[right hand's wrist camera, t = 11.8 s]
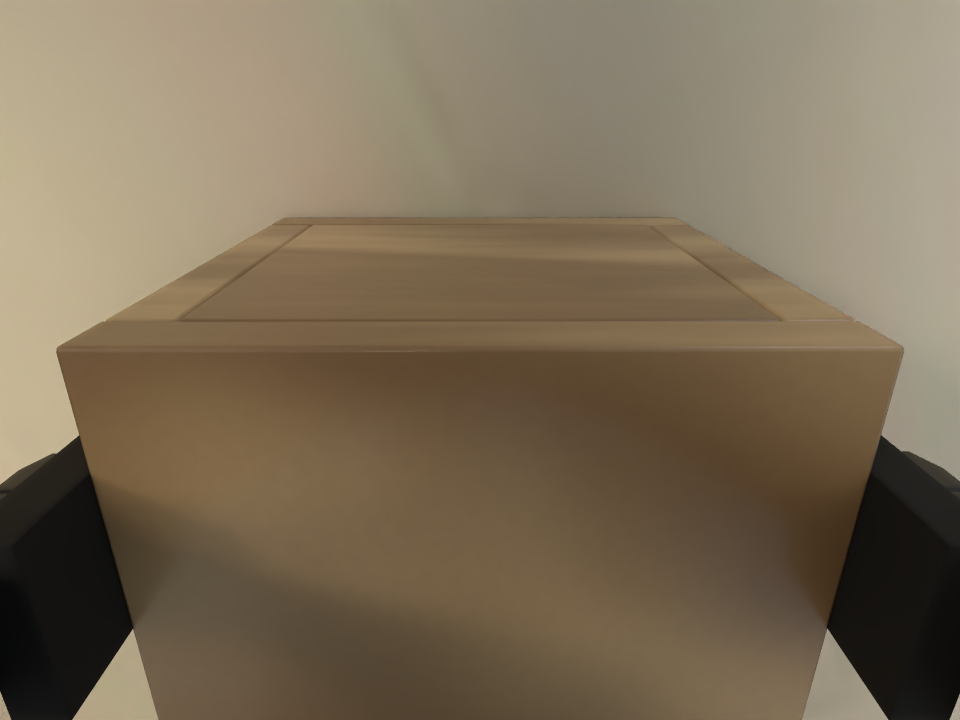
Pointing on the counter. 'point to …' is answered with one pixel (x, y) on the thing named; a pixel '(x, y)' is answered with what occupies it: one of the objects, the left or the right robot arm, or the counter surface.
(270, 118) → the counter surface
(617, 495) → the cabinet
